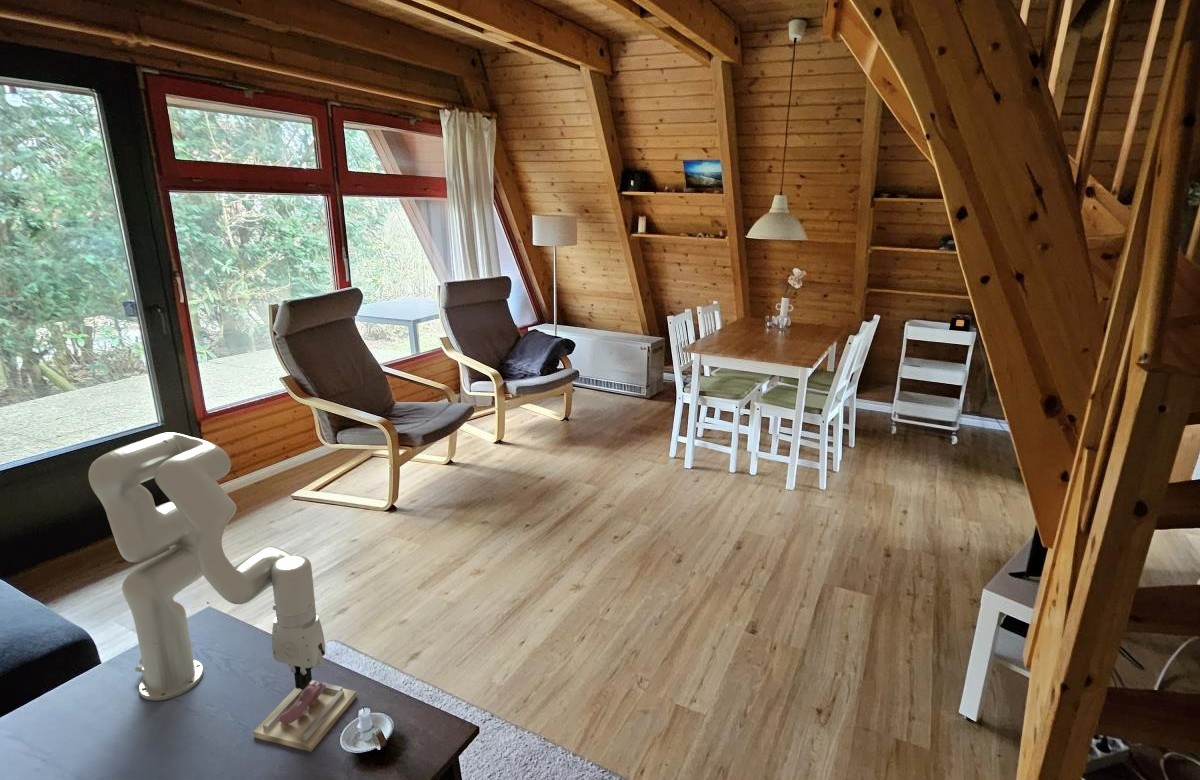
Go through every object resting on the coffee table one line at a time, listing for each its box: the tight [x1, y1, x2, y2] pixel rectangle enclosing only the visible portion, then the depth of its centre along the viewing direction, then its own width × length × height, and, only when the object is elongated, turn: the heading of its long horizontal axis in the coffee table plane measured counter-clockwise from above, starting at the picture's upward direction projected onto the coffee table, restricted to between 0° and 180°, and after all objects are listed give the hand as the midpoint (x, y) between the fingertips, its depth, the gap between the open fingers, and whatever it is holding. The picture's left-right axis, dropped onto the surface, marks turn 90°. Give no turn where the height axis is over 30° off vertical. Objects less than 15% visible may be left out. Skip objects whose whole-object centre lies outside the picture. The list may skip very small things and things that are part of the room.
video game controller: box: [280, 680, 326, 724], centre depth 138 cm, size 10×5×7 cm, turn 168°
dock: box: [252, 679, 357, 753], centre depth 139 cm, size 14×16×3 cm
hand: (304, 684), depth 137 cm, fingers closed
